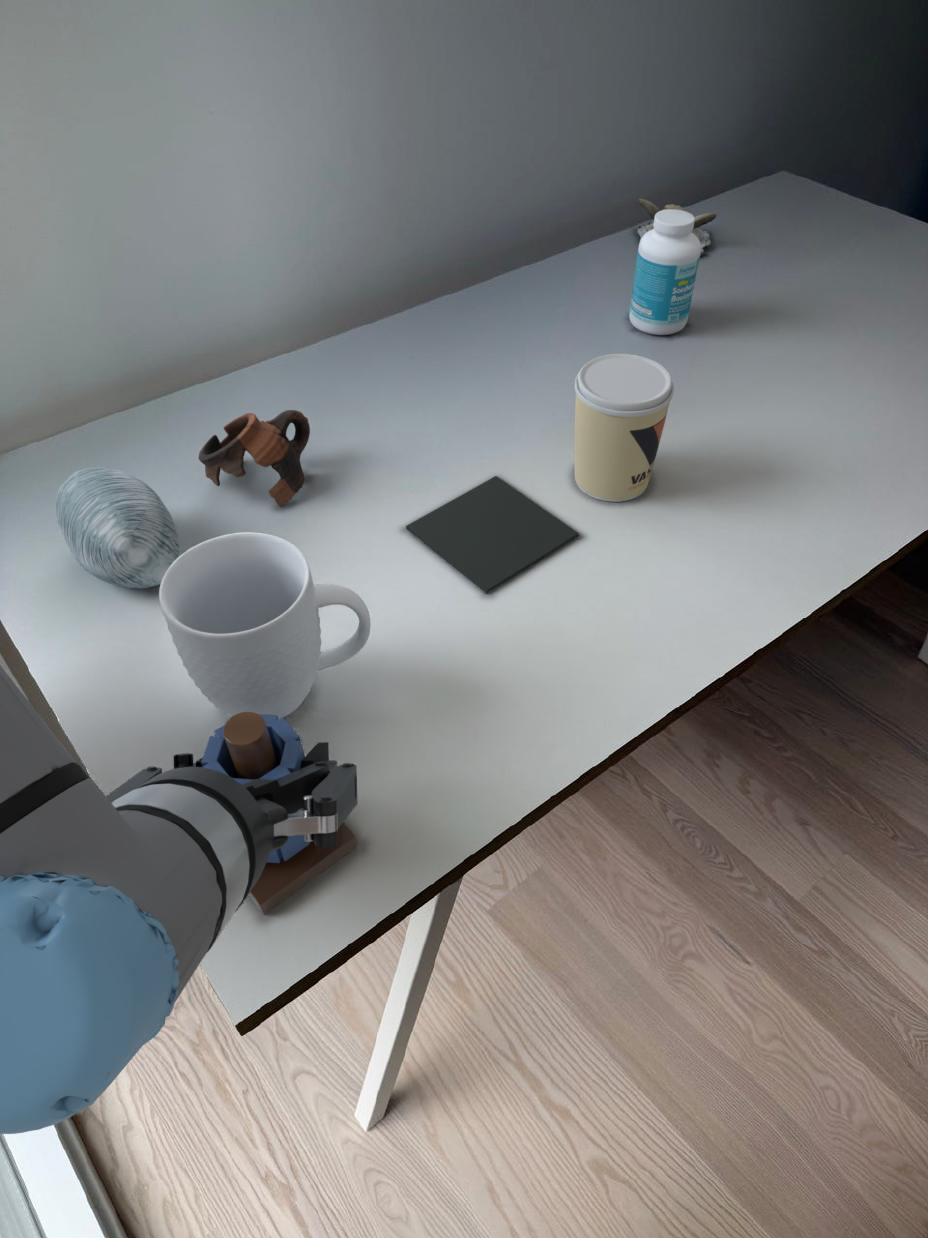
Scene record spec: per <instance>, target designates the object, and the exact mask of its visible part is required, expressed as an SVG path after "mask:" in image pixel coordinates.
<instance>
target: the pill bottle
mask: <svg viewBox="0 0 928 1238" xmlns="http://www.w3.org/2000/svg"><path fill="white" fill-rule="evenodd" d="M661 210H662V211H661ZM661 210H660V211H659V212H658V213H656V215H655V218H654V220H653V222H652V223H653V227H654V229H652V230H650V231H648V232H647V233H646V234H644V235H643V237H642V238H640V239H641V240H639V243H638V249H637V256H636V264H635V269H634V277H633V285H632V292H631V299H630V307H629V313H628V314H629V315H628V317H629V321H630V323H631V325H632V326H633V327H635V329H637V330H638V331H640V332H642V333H645V334H649V335H653V336H668V335H674V334H676V333H678V332H680V331H682V330H683V329H684V328H685V327H686V325H687V323H688V321H689V314H690V310H691V309H690V308H691V304H692V298H693V294H694V288H695V284H696V277H697V273H698V268H699V263H700V257H701V256H700V252H701V244H700V241H699V239H698V238H697V236H696V235H695V234H693V233H692V230H693V227H694V221H695V218H694V217H695V216H694V214H692V213H690V212H688V211H686V210H685V211H682V210H675V209H668V210H663V209H661Z"/></svg>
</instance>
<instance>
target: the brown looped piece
mask: <svg viewBox="0 0 928 1238" xmlns="http://www.w3.org/2000/svg"><path fill="white" fill-rule="evenodd" d="M290 424H293V426H294V434H293V435H294V436H293V438H292V439H291V440H290V439H289V437H287V431H288V428H289V426H290ZM223 430H224V432H225V433H226V434H227V435H226V437H224V438H223V439H222V440H221V441H220V439H219V437H218V435H217V434H214V435H212V436H211V437H210V438H209V439H208V440H207V441H206V443H204V445H203V446H202V447H201V449H200V450H199V452H198V460H199V462H201V463H202V465H204V473H205V477H206V478H207V479H209V480H210V481H211V482H213V484H214V485H215V486H216V487H220V486H221V482H220V481H221V480H220V475H221V471H223V472H224V473H226V474H229V475H232V476H233V477H235V478H240V477H244V476H246V475H247V472H246V469H245V468H244V459H245V458H244V457H245V454H246V452H247V453H248V454H249V455H250V456H251V457H252V459H253V461H254V462H255V463H256V464H257V465H259V466H260V467H263V468H267V467H271V469H273V470H274V471H275V472H276V473H278V475H279V477H280V478H279V480H278V481H277V482H276V483H275V484H274V485H273V486H272V487H271V488H270V489H269V490H268V494H269V495H270V497H271V498H272V499H274V501H275V503H276V504H277V506H278V507H283V506H284V505H286V504H287V503H288V502H289V501H291V500H292V499H293V497H295V496H296V494H297V493H298V492H299V491H300V490H301V489H302V488H303V486H304V485H305V482H306V476H305V473H304V471H303V467H302V464H301V457H302V453H303V452H304V450H305V448H306V446H307V445H308V442H309V439H310V433H311V428H310V423H309V419H308V417H306V416H305V415H304V413H303V412H302V411H299V410H297V409H287V410H285V411H283V412H280V413H279V414H278V415H276V417H274V418H271V419H270V420H266V421H264V420H261V421H260V419H259V418H258V417H257V415H256V414H255V413H253V412H247V413H245V414H243V415H240V416H238V417H237V418H234V419H233V420H232V421H230V422H229V423H227V424H226V425H224V426H223Z"/></svg>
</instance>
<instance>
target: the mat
mask: <svg viewBox="0 0 928 1238" xmlns="http://www.w3.org/2000/svg"><path fill="white" fill-rule="evenodd" d="M405 530H407V531H408V532H409V533H411V534H412V535H413V536H414V537H415V538H417V539H418V540H419V541H420V542H422V543H423V544H424V545H425V546H427V547H428V548H429V549H431V551H433V552H434V553H435V554H437V556H439V557H440V558H442V559H443V560H444V561H445V562H447V563H448V565H450V566H451V567H453V568H454V569H455V570H456V571H458V572H459V573H460V574H462V575H463V576H464V577H465V578H466V579H467V580H469V581H470V582H471V583H473V584H474V585H475V586H476V587H478V588H479V589H480V590H481V591H483V592H484V593H485V594H488V593H490V592H492V591H493V590H495V589H497V588H498V587H500V586H502V585H503V584H505V583H506V582H507V581H509V580H511V579H512V578H514V577H516V576H517V575H519V574H521V573H522V572H523V571H525V570H527V569H528V568H530V567H532V566H533V565H535V564H536V563H538V562H539V561H541V560H542V559H544V558H546V557H547V556H549V555H550V554H552V553H554V552H555V551H557V550H559V549H560V548H561V547H563V546H565V545H567V544H568V543H569V542H571V541H573V540H574V539H576V538H577V537H579V532H578V531H576V530H575V529H573V528H572V527H571V526H569V525H568V524H566V523H564V522H563V521H562V520H560V519H559V518H557V517H556V516H555V515H553V514H552V513H550V512H549V511H547V510H546V509H544V507H542V506H540V505H539V504H537V503H536V502H534V501H533V500H532V499H530V498H529V497H527V496H526V495H525V494H523V493H522V492H520V491H519V490H517V489H516V488H514V487H513V486H512V485H510V484H509V483H507V482H506V481H505V480H504V479H501V478H500V477H498V475H495V476H493V477H491V478H489V479H488V480H486V481H484V482H483V483H481V484H479V485H477V486H475V487H473V488H471V489H469V490H468V491H466V492H464V493H463V494H461V495H459V496H457V497H455V498H454V499H452V500H450V501H448V502H447V503H445V504H443V505H441V506H439V507H437V508H435V509H434V510H432V511H430V512H428V513H427V514H424V515H423V516H421V517H419V518H417V519H416V520H414V521H412V522H410V523H408V524H407V525H405Z"/></svg>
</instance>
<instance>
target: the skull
mask: <svg viewBox="0 0 928 1238" xmlns="http://www.w3.org/2000/svg"><path fill="white" fill-rule="evenodd" d="M638 204H639V205H640V206H641V207H642V208H643V209H644V210H645V211H646V213H648V214H649V216H650V217H651V218H652V220H653V221H654V218H655V215H656V213H658V212H659V211H662V210H668V209H675V210H682V211H686V209H684V208H683V207H682V206H680V205H679V204H678V205H675V203H672V204H666V205H665V206H664V207H663V209H660V208H659V207H658V206H657V205H655V204H654V203H653V202H651V201H650V200H648V199H645V198H638ZM717 216H718V215H717V213H715V212H707V213H703V214H699V215H696V216H694V218H695V221H694V227H693V230H692V233H693V234H695V235H696V236H697V238H698V239H699V241H700V244H701V252H700V257H702V256H705V251H704V248H705V247H706V246H707V248H708V249H710V248H711V246H712V244H711V243H712V241H711V239H710V234H709V233H708V231H707V230H704V229H703V228H702V227H701V226H704V225H707V224H708V223H711V222H712V221H714V220H715V219H716V218H717ZM653 223H654V222H651V221H649V222H646V224H644V225H643V226H640V225H638V227H637V229H636V232H637V233H638V236H639V239H640V240H641V238H642V237H643V235H644V234H646V233H647V232H648V231H650V230H652V229H654V227H653ZM640 240H639V241H640Z"/></svg>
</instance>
